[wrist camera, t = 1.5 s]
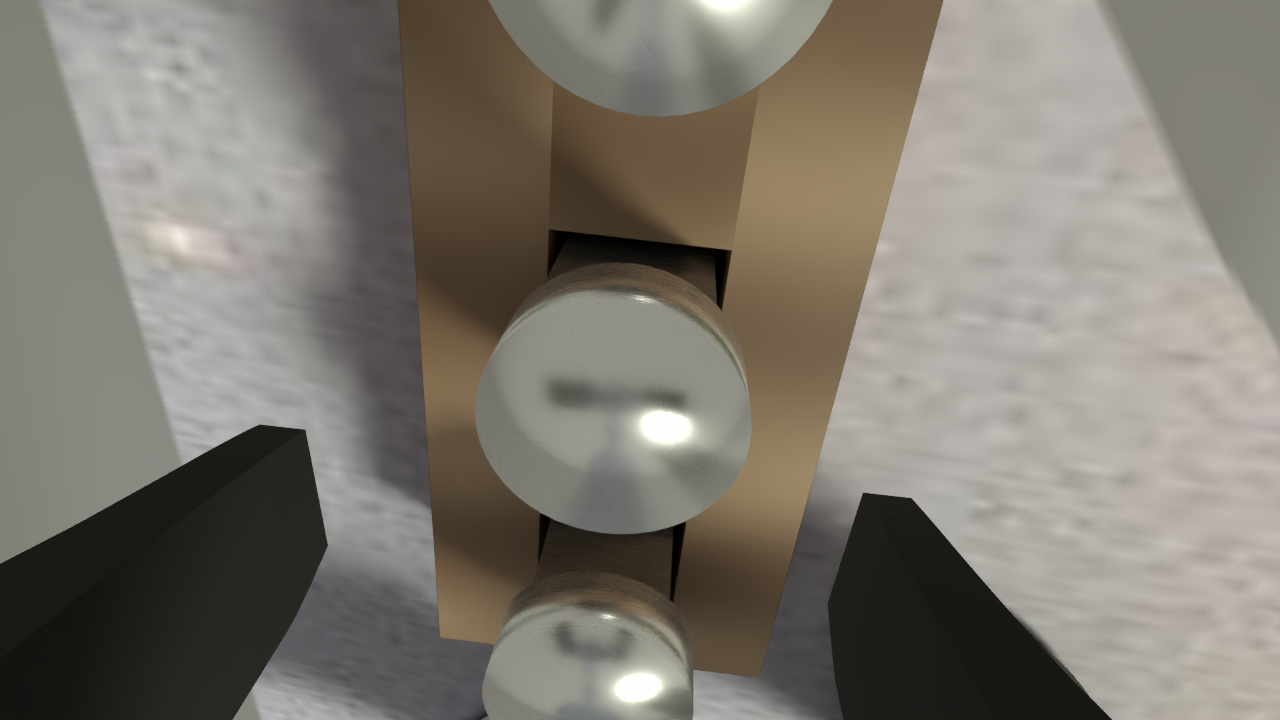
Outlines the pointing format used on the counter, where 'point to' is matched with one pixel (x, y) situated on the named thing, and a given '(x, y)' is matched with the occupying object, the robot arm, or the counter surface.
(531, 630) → the knob
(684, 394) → the middle knob
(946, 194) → the counter surface
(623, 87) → the knob
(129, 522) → the robot arm
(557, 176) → the block
